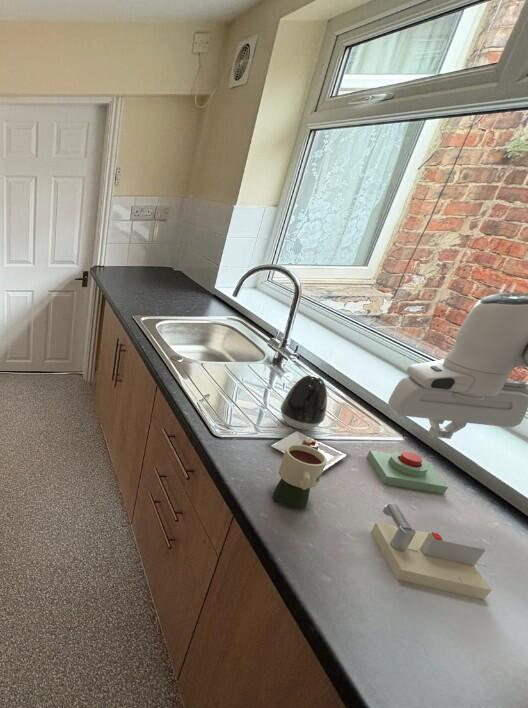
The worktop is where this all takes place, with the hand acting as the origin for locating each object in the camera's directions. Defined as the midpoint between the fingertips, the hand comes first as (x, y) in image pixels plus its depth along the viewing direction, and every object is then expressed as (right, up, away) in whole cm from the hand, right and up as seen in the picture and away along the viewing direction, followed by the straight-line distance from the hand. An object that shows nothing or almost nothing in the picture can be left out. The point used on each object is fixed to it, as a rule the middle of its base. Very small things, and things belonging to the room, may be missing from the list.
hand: (438, 436), depth 85 cm
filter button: (+3, -8, +10) cm, 13 cm away
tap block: (-13, -22, -10) cm, 27 cm away
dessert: (-14, -8, +19) cm, 25 cm away
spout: (-17, -17, -8) cm, 25 cm away
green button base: (+3, -11, +12) cm, 16 cm away
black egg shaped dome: (-8, -2, +31) cm, 32 cm away
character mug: (-28, -15, +5) cm, 32 cm away
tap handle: (-11, -19, -12) cm, 25 cm away
